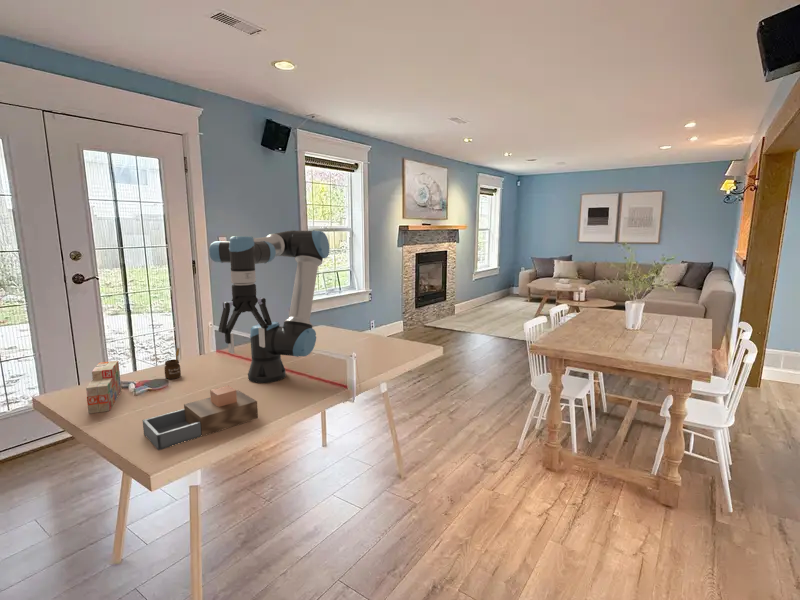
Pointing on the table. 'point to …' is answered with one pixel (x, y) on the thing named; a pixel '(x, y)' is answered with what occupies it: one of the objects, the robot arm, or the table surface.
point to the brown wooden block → (221, 413)
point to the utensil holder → (172, 367)
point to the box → (170, 429)
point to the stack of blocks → (103, 387)
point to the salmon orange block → (223, 396)
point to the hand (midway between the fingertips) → (247, 349)
